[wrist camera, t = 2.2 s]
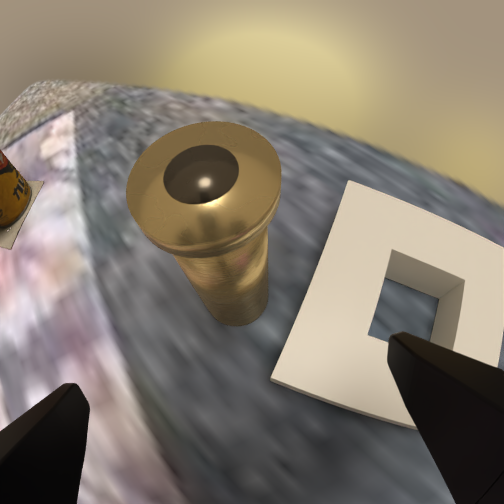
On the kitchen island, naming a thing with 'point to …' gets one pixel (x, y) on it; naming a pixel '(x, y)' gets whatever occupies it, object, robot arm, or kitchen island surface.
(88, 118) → the kitchen island surface
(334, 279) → the jig plate
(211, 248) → the brass bushing
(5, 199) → the condiment
